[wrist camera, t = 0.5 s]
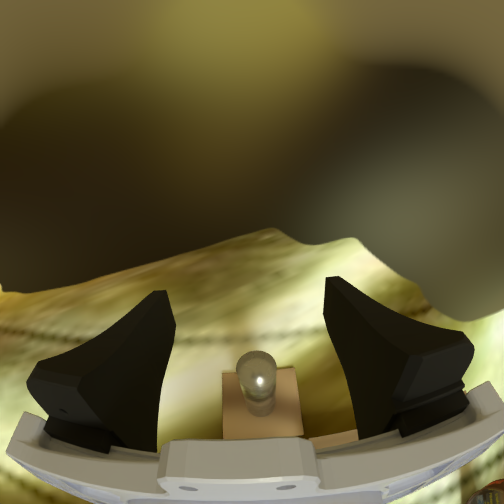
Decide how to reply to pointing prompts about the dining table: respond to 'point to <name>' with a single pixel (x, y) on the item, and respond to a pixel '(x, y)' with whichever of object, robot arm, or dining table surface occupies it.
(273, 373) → the pin
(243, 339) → the dining table surface
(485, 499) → the tin
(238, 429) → the cork coaster
